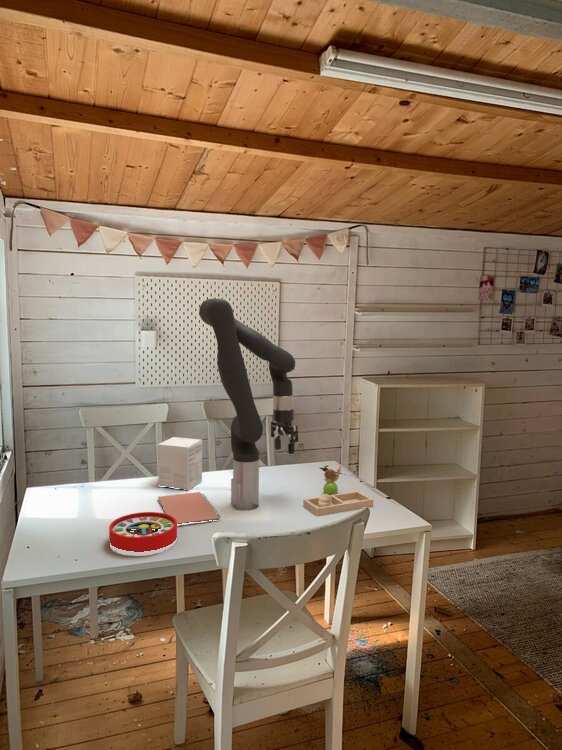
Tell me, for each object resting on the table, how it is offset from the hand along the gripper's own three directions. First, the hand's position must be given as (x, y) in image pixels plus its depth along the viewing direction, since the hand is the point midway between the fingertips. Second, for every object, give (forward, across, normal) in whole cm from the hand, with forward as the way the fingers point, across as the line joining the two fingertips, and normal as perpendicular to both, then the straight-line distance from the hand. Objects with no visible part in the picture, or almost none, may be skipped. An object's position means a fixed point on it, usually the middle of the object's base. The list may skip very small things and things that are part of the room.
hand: (284, 451), depth 208 cm
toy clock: (+18, +6, -57) cm, 60 cm away
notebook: (+18, -11, -34) cm, 40 cm away
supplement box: (+16, -38, -25) cm, 48 cm away
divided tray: (+20, +16, +11) cm, 28 cm away
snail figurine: (+19, +4, +18) cm, 27 cm away
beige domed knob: (+19, +16, +6) cm, 25 cm away
